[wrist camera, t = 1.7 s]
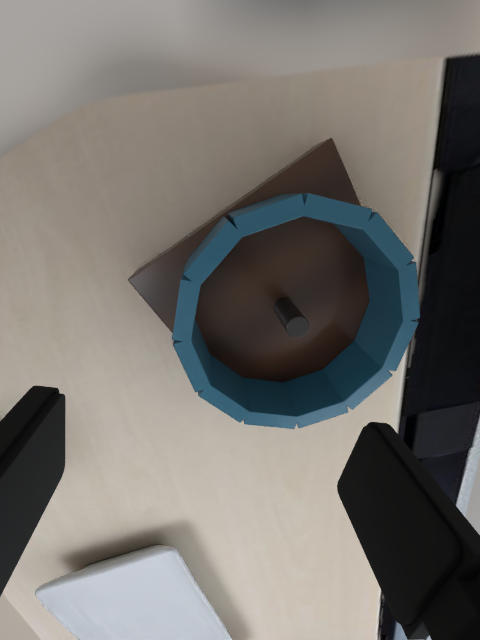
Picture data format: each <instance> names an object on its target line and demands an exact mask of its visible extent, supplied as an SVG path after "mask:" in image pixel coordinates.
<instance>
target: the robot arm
mask: <svg viewBox="0 0 480 640" xmlns="http://www.w3.org/2000/svg"><path fill="white" fill-rule="evenodd" d="M64 468H65V395H64V394H59V390H58V388H53V387H44V386H33V387H32V388H31V389H30V390H29V391H28V392H27V393H26V394H25V395H24V396H23V397H22V398H21V399H20V401H19V402H18V403H17V404H16V405H15V406H14V407H13V408H12V409H11V410H10V412H9V413H8V414H7V415H6V416H5V417H4V418H3V419H2V420H1V421H0V596H1V594H2V592H3V590H4V588H5V586H6V584H7V582H8V580H9V579H10V577H11V575H12V573H13V571H14V569H15V567H16V565H17V563H18V561H19V559H20V557H21V555H22V553H23V551H24V549H25V547H26V546H27V544H28V542H29V540H30V538H31V536H32V534H33V532H34V530H35V528H36V526H37V524H38V522H39V520H40V518H41V516H42V514H43V512H44V511H45V509H46V507H47V505H48V503H49V501H50V499H51V497H52V495H53V493H54V491H55V489H56V487H57V485H58V483H59V481H60V479H61V477H62V475H63V472H64ZM337 490H338V494H339V496H340V499H341V501H342V503H343V505H344V507H345V510H346V512H347V514H348V516H349V519H350V521H351V523H352V525H353V528H354V530H355V532H356V534H357V537H358V539H359V541H360V543H361V545H362V548H363V550H364V552H365V554H366V557H367V559H368V561H369V563H370V566H371V568H372V570H373V572H374V575H375V577H376V579H377V581H378V584H379V586H380V588H381V590H382V592H383V595H384V597H385V599H386V601H387V604H388V606H389V608H390V610H391V613H392V615H393V616H394V618H395V620H396V621H397V622H398V623H399V624H401V626H402V628H403V630H404V633H405V635H406V637H407V639H408V640H414V639H426V638H427V637H428V636H429V635H430V637H431V639H432V640H480V535H479V534H478V533H477V532H476V530H475V529H474V528H473V527H472V525H471V524H470V523H469V522H468V520H467V519H466V518H465V517H464V515H463V514H462V513H461V512H460V511H459V509H458V508H457V507H456V506H455V504H454V503H453V502H452V501H451V499H450V498H449V497H448V496H447V494H446V493H445V492H444V491H443V490H442V488H441V487H440V486H439V485H438V483H437V482H436V481H435V480H434V478H433V477H432V476H431V475H430V473H429V472H428V471H427V470H426V469H425V467H424V466H423V465H422V464H421V462H420V461H419V460H418V459H417V457H416V456H415V455H414V454H413V453H412V451H411V450H410V449H409V448H408V446H407V445H406V444H405V443H404V441H403V440H402V439H401V438H400V436H399V435H398V434H397V433H396V432H395V430H394V429H393V428H392V427H391V426H390V425H389V424H387V423H377V422H370V423H368V425H367V426H365V427H363V429H362V431H361V433H360V435H359V438H358V440H357V442H356V444H355V446H354V448H353V451H352V453H351V455H350V457H349V459H348V461H347V464H346V466H345V468H344V470H343V472H342V474H341V477H340V479H339V481H338V485H337Z"/></svg>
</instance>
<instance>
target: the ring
mask: <svg viewBox="0 0 480 640" xmlns="http://www.w3.org/2000/svg"><path fill="white" fill-rule="evenodd" d="M228 216H229V219H230V221H229V220H228V219H227V218H226V217H224V216H223V217H222V218H221V220H220V221H219V222H218V223H217V224H216V226H215V227H214V228H213V229H212V230H211V232H210V233H209V234H208V235H207V236H206V238H205V239H204V240H203V241H202V242H201V244H200V245H199V246H198V247H197V248H196V250H195V251H194V252H193V253H192V254H191V256H190V257H189V258H188V260H187V263H186V264H185V267H184V270H183V274H182V277H181V280H180V287H179V294H178V301H177V308H176V315H175V321H174V328H173V335H172V340H174V342H173V346H174V348H175V350H176V352H177V355H178V357H179V359H180V361H181V363H182V365H183V367H184V369H185V372H186V374H187V376H188V378H189V380H190V382H191V384H192V386H193V389H194V391H195V392H198V396H200V397H201V398H203V399H204V400H206V401H207V402H209V403H210V404H212V405H214V406H215V407H217V408H218V409H220V410H221V411H223V412H224V413H226V414H227V415H229V416H231V417H232V418H234V419H235V420H237V421H238V422H242V421H243V420H244V424H248V425H258V426H269V427H279V428H289V429H295V426H296V423H297V425H298V428H302V427H305V426H308V425H311V424H314V423H317V422H320V421H323V420H326V419H329V418H332V417H336V416H339V415H342V414H345V413H348V409H347V406H348V407H349V408H350V409H352V410H353V409H354V408H355V407H356V406H357V405H359V404H360V403H361V402H362V401H363V400H364V399H366V398H367V397H368V396H369V395H370V394H371V393H373V392H374V391H375V390H376V389H377V388H378V387H380V386H381V385H382V384H383V383H384V382H385V381H387V380H388V379H389V378H390V377H391V376H392V374H391V373H390V372H389V371H388V370H390V371H396V370H397V367H398V365H399V363H400V361H401V359H402V357H403V355H404V353H405V350H406V348H407V346H408V344H409V342H410V340H411V338H412V336H413V333H414V331H415V329H416V327H417V325H418V322H417V321H416V320H414V319H417V318H420V311H419V296H418V282H417V268H416V262H413V261H411V260H412V259H413V258H414V257H413V255H412V254H411V253H410V252H409V251H408V249H407V248H406V247H405V246H404V244H403V243H402V242H401V241H400V240H399V238H398V237H397V236H396V235H395V233H394V232H393V231H392V230H391V228H390V227H389V226H388V225H387V224H386V222H385V221H384V220H383V219H382V217H381V216H380V215H379V214H378V213H377V212H372V209H370V208H366V207H362V206H358V205H354V204H350V203H346V202H342V201H338V200H334V199H330V198H326V197H322V196H318V195H314V194H310V193H298V194H281V195H278V196H275V197H273V198H270V199H267V200H264V201H261V202H258V203H255V204H252V205H250V206H247V207H244V208H241V209H238V210H235V211H232V212H229V213H228ZM302 216H303V217H307V218H311V219H315V220H320V221H324V222H328V223H332V224H334V225H335V226H336V227H337V228H338V230H339V231H340V232H341V233H342V234H343V235H344V236H345V237H346V238H347V240H348V241H349V242H350V243H351V244H352V245H353V246H354V247H355V248H356V250H357V251H358V252H359V253H360V254H361V255H362V256H363V257H364V264H365V271H366V278H367V285H368V292H369V299H370V301H369V304H368V306H367V309H366V311H365V314H364V317H363V319H362V322H361V324H360V327H359V329H358V332H357V334H356V337H355V339H354V341H353V342H352V343H351V344H350V345H349V346H348V347H346V348H345V349H344V350H343V351H342V352H341V353H340V354H339V355H338V356H337V357H336V358H335V359H333V360H332V361H331V362H330V363H329V364H328V365H327V366H326V367H325V368H324V369H322V370H319V371H316V372H313V373H310V374H307V375H304V376H301V377H298V378H295V379H292V380H289V381H286V382H275V381H267V380H259V379H251V378H243V377H241V376H240V375H238V374H237V373H236V372H234V371H233V370H232V369H230V368H229V367H227V366H226V365H225V364H223V363H222V362H220V361H219V360H218V359H216V358H215V357H213V356H212V355H211V354H210V353H209V351H208V348H207V346H206V343H205V341H204V339H203V336H202V334H201V331H200V329H199V327H198V324H197V322H196V319H195V315H196V309H197V303H198V297H199V292H200V286H201V284H202V283H203V282H204V281H205V279H206V278H207V277H208V276H209V275H210V274H211V273H212V271H213V270H214V269H215V268H216V267H217V266H218V265H219V263H220V262H221V261H222V260H223V259H224V258H225V256H226V255H227V254H228V253H229V252H230V251H231V250H232V248H233V247H234V246H235V245H236V244H237V243H238V242H239V240H240V239H241V238H242V237H244V236H247V235H250V234H253V233H256V232H259V231H262V230H265V229H267V228H270V227H273V226H276V225H279V224H282V223H285V222H288V221H291V220H294V219H297V218H299V217H302Z"/></svg>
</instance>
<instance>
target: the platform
mask: <svg viewBox="0 0 480 640" xmlns="http://www.w3.org/2000/svg"><path fill="white" fill-rule="evenodd" d="M298 193H310V194H314V195H318V196H322V197H326V198H330V199H334V200H338V201H342V202H346V203H350V204H354V205H358V206H361V205H360V203H359V200H358V198H357V196H356V193H355V191H354V188H353V186H352V184H351V181H350V179H349V177H348V174H347V172H346V170H345V167H344V165H343V163H342V160H341V158H340V156H339V153H338V151H337V149H336V146H335V144H334V141H333V139H332V138H330V139H328V140H326V141H324V142H321V143H319V144H318V145H316V146H315V147H313V148H312V149H310V150H309V151H308V152H306V153H305V154H303V155H302V156H300V157H299V158H298V159H296V160H295V161H293V162H292V163H290V164H289V165H288V166H286V167H285V168H283V169H282V170H280V171H279V172H277V173H276V174H275V175H273V176H272V177H270V178H269V179H267V180H266V181H265V182H263V183H262V184H260V185H259V186H257V187H256V188H255V189H253V190H252V191H250V192H249V193H247V194H246V195H245V196H243V197H242V198H240V199H239V200H237V201H236V202H235V203H233V204H232V205H230V206H229V207H227V208H226V209H225V210H223V211H222V212H220V213H219V214H217V215H216V216H215V217H213V218H212V219H210V220H209V221H207V222H206V223H204V224H203V225H202V226H200V227H199V228H197V229H196V230H194V231H193V232H192V233H190V234H189V235H187V236H186V237H184V238H183V239H182V240H180V241H179V242H177V243H176V244H174V245H173V246H172V247H170V248H169V249H167V250H166V251H164V252H163V253H162V254H160V255H159V256H157V257H156V258H154V259H153V260H152V261H150V262H149V263H147V264H146V265H144V266H143V267H142V268H140V269H139V270H137V271H136V272H135V273H134V274H133V275H132V276H131V277H130V278H129V279H128V281H129V282H130V283H131V285H132V286H133V287H134V288H135V289H136V290H137V292H138V293H139V294H140V295H141V296H142V298H143V299H144V300H145V301H146V302H147V303H148V305H149V306H150V307H151V308H152V309H153V311H154V312H155V313H156V314H157V315H158V316H159V318H160V319H161V320H162V321H163V322H164V324H165V325H166V326H167V327H168V328H169V330H170V331H171V332H172V333H173V328H174V321H175V315H176V308H177V301H178V294H179V287H180V280H181V277H182V274H183V270H184V267H185V264H186V263H187V260H188V258H189V257H190V256H191V254H192V253H193V252H194V251H195V250H196V248H197V247H198V246H199V245H200V244H201V242H202V241H203V240H204V239H205V238H206V236H207V235H208V234H209V233H210V232H211V230H212V229H213V228H214V227H215V226H216V224H217V223H218V222H219V221H220V220H221V218H222V217H223V216H224V217H226V218H227V219H228V220H229V221H230V219H229V216H228V213H229V212H232V211H235V210H238V209H241V208H244V207H247V206H250V205H252V204H255V203H258V202H261V201H264V200H267V199H270V198H273V197H275V196H278V195H281V194H298ZM369 301H370V299H369V292H368V285H367V278H366V271H365V264H364V257H363V256H362V255H361V254H360V253H359V252H358V251H357V250H356V248H355V247H354V246H353V245H352V244H351V243H350V242H349V241H348V240H347V238H346V237H345V236H344V235H343V234H342V233H341V232H340V231H339V230H338V228H337V227H336V226H335V225H334V224H332V223H328V222H324V221H320V220H315V219H311V218H307V217H303V216H302V217H299V218H297V219H294V220H291V221H288V222H285V223H282V224H279V225H276V226H273V227H270V228H267V229H265V230H262V231H259V232H256V233H253V234H250V235H247V236H244V237H242V238H241V239H240V240H239V242H238V243H237V244H236V245H235V246H234V247H233V248H232V250H231V251H230V252H229V253H228V254H227V255H226V256H225V258H224V259H223V260H222V261H221V262H220V263H219V265H218V266H217V267H216V268H215V269H214V270H213V271H212V273H211V274H210V275H209V276H208V277H207V278H206V279H205V281H204V282H203V283H202V284H201V286H200V292H199V297H198V303H197V309H196V315H195V319H196V322H197V324H198V327H199V329H200V331H201V334H202V336H203V339H204V341H205V343H206V346H207V348H208V351H209V353H210V354H211V355H212V356H213V357H215V358H216V359H218V360H219V361H220V362H222V363H223V364H225V365H226V366H227V367H229V368H230V369H232V370H233V371H234V372H236V373H237V374H238V375H240V376H241V377H243V378H251V379H259V380H267V381H275V382H286V381H289V380H292V379H295V378H298V377H301V376H304V375H307V374H310V373H313V372H316V371H319V370H322V369H324V368H325V367H326V366H327V365H328V364H329V363H330V362H331V361H332V360H333V359H335V358H336V357H337V356H338V355H339V354H340V353H341V352H342V351H343V350H344V349H345V348H346V347H348V346H349V345H350V344H351V343H352V342H353V341H354V339H355V337H356V334H357V332H358V329H359V327H360V324H361V322H362V319H363V317H364V314H365V311H366V309H367V306H368V304H369Z"/></svg>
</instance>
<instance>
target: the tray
mask: <svg viewBox="0 0 480 640" xmlns="http://www.w3.org/2000/svg"><path fill="white" fill-rule="evenodd" d="M35 595H36V596H37V598H38V600H39V601H40V603H41V604H42V605H43V606H44V607H45V608H46V609H47V610H48V611H49V612H50V613H51V614H52V615H53V616H54V617H55V618H56V619H57V620H58V621H59V622H60V623H61V624H62V625H63V626H64V627H65V628H66V629H67V630H69V631H70V632H71V633H72V634H73V635H74V636H75V637H76V638H77V639H78V640H233V639H232V638H231V636H230V634H229V633H228V631H227V629H226V628H225V626H224V625H223V623H222V621H221V620H220V618H219V617H218V615H217V613H216V612H215V610H214V609H213V607H212V605H211V604H210V602H209V601H208V599H207V598H206V596H205V595H204V593H203V592H202V590H201V589H200V587H199V585H198V584H197V582H196V581H195V579H194V577H193V575H192V574H191V572H190V570H189V569H188V567H187V565H186V564H185V562H184V560H183V559H182V557H181V555H180V553H179V552H178V550H177V549H176V548H175V547H172V546H164V545H159V544H158V545H154V546H150V547H147V548H143V549H140V550H137V551H133V552H130V553H127V554H124V555H120V556H117V557H114V558H110V559H107V560H104V561H101V562H97V563H94V564H91V565H88V566H86V567H84V568H83V569H82V570H79V571H76V572H72V573H69V574H66V575H64V576H61V577H59V578H56V579H54V580H52V581H49V582H47V583H45V584H43V585H41V586H40V587H38V588H37V589H36V591H35Z"/></svg>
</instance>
